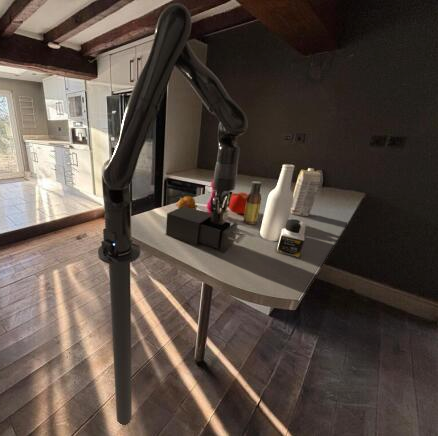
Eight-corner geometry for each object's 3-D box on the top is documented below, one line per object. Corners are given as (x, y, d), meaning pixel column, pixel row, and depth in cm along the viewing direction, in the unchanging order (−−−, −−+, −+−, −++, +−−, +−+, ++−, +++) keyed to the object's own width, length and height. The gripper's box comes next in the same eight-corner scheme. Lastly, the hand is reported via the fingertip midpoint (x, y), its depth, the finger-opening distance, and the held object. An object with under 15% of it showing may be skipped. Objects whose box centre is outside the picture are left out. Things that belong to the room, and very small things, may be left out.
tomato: (235, 205, 135) (238, 188, 131) (260, 214, 122) (264, 196, 118) (218, 209, 128) (220, 192, 124) (243, 219, 115) (246, 200, 111)
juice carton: (308, 212, 126) (321, 168, 117) (309, 217, 119) (324, 171, 110) (288, 209, 130) (300, 166, 121) (289, 214, 123) (301, 169, 114)
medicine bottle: (276, 251, 86) (284, 222, 82) (278, 244, 92) (285, 216, 87) (299, 257, 83) (308, 227, 78) (299, 249, 88) (308, 220, 84)
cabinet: (211, 235, 98) (214, 214, 94) (196, 245, 89) (199, 223, 85) (181, 225, 107) (183, 205, 103) (165, 234, 98) (167, 213, 94)
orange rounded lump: (201, 212, 123) (201, 195, 118) (190, 222, 117) (189, 205, 111) (185, 207, 129) (184, 191, 124) (174, 216, 123) (172, 200, 117)
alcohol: (255, 234, 99) (270, 164, 88) (267, 230, 103) (284, 162, 92) (274, 243, 92) (293, 167, 81) (287, 238, 96) (307, 166, 85)
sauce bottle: (251, 219, 115) (259, 180, 108) (259, 224, 110) (268, 183, 102) (239, 220, 114) (247, 180, 106) (247, 225, 108) (255, 183, 101)
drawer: (245, 244, 89) (249, 226, 86) (234, 256, 81) (238, 236, 78) (203, 231, 99) (205, 214, 96) (190, 240, 91) (191, 222, 88)
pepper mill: (217, 217, 116) (223, 178, 109) (204, 214, 120) (208, 176, 112) (221, 213, 122) (227, 175, 115) (208, 210, 126) (213, 174, 118)
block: (221, 225, 84) (223, 213, 83) (210, 221, 87) (212, 210, 85) (226, 221, 87) (228, 210, 86) (215, 218, 90) (217, 207, 88)
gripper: (223, 171, 88) (217, 213, 94) (206, 177, 78) (200, 223, 84) (243, 174, 83) (235, 217, 90) (227, 180, 73) (220, 229, 80)
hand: (218, 220), depth 87 cm, fingers closed on block, 4 cm apart
